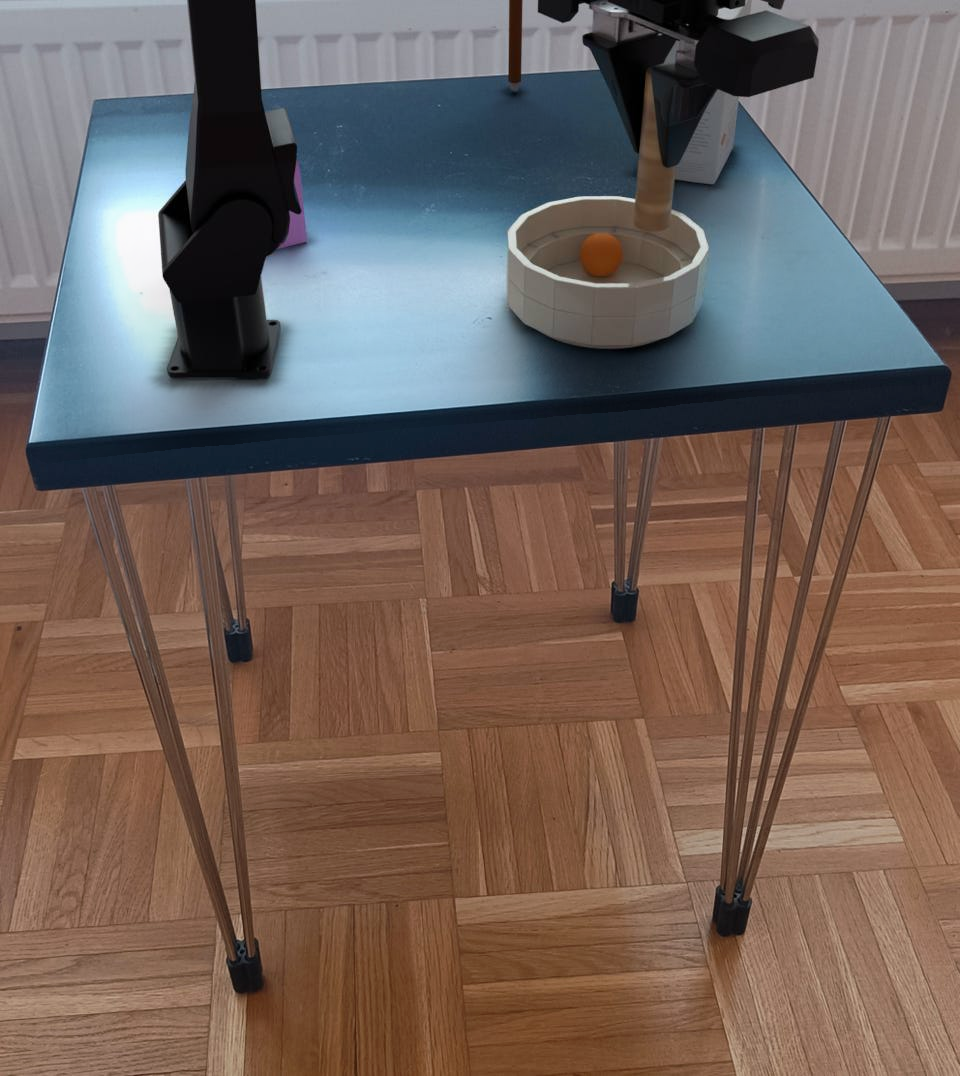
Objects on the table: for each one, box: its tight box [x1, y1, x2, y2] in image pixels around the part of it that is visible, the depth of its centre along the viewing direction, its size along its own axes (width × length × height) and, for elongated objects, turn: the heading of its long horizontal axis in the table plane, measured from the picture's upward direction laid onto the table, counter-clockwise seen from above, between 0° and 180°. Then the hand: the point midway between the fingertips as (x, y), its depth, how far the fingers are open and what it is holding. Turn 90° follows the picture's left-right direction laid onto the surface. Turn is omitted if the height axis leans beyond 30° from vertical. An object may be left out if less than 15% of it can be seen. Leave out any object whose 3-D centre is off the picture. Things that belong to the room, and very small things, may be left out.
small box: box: [664, 0, 753, 185], centre depth 100 cm, size 8×6×13 cm
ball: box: [580, 233, 623, 277], centre depth 87 cm, size 3×3×3 cm
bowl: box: [506, 195, 710, 350], centre depth 84 cm, size 13×13×5 cm
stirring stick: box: [633, 67, 676, 232], centre depth 79 cm, size 2×2×10 cm
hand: (656, 158), depth 79 cm, fingers closed on stirring stick, 2 cm apart
